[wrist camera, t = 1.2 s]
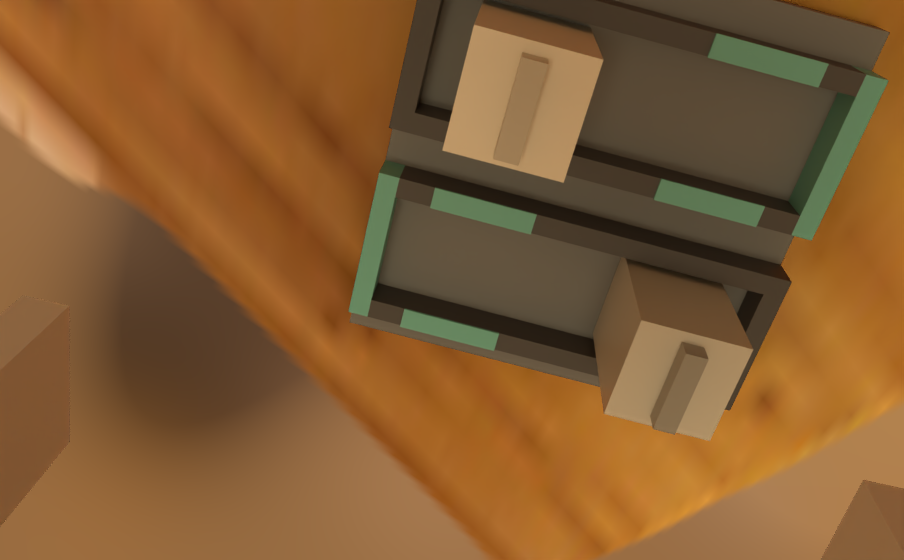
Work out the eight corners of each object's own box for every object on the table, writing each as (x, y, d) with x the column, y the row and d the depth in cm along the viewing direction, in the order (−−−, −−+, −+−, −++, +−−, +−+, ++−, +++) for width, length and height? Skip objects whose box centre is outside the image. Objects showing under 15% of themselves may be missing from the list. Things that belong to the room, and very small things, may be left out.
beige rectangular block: (483, -2, 30) (472, 28, 24) (590, 27, 31) (605, 65, 24) (456, 104, 32) (439, 158, 26) (557, 131, 32) (564, 191, 26)
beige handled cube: (623, 250, 34) (644, 331, 28) (718, 275, 34) (759, 361, 28) (592, 333, 36) (605, 426, 30) (682, 356, 36) (714, 454, 30)
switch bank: (444, -93, 30) (436, -90, 28) (877, 27, 31) (909, 40, 28) (354, 309, 38) (341, 341, 35) (704, 400, 38) (717, 438, 36)
